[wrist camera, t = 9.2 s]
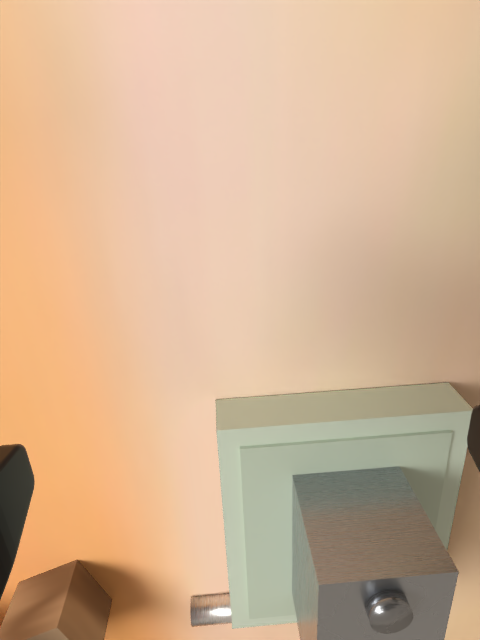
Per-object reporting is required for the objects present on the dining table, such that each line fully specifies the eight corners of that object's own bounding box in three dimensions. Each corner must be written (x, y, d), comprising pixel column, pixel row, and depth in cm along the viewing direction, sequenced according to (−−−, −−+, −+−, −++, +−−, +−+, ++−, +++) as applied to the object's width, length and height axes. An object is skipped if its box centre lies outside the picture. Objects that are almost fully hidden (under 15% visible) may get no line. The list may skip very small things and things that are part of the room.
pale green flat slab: (448, 382, 23) (476, 413, 21) (417, 570, 29) (437, 612, 26) (215, 399, 23) (216, 433, 20) (230, 587, 28) (232, 632, 26)
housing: (399, 466, 22) (467, 586, 16) (384, 584, 25) (436, 719, 19) (292, 475, 21) (322, 600, 16) (292, 593, 25) (317, 732, 19)
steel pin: (300, 598, 29) (300, 580, 29) (305, 622, 28) (305, 603, 27) (193, 608, 29) (191, 590, 29) (192, 633, 28) (190, 614, 27)
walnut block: (77, 558, 27) (57, 627, 23) (112, 598, 28) (98, 668, 24) (19, 581, 27) (-11, 652, 23) (56, 619, 29) (34, 691, 25)
